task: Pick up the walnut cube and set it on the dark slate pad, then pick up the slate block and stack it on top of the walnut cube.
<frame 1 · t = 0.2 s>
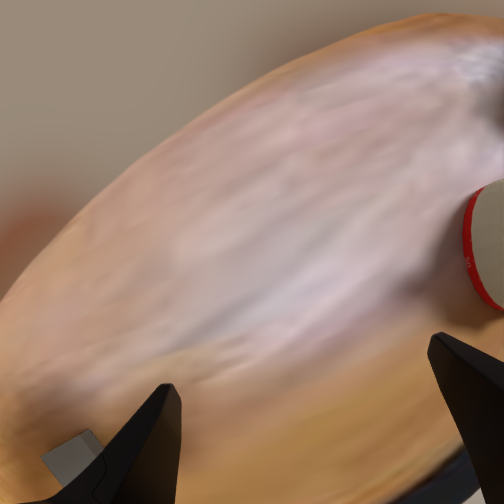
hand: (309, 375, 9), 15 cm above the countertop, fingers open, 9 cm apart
slate pad: (93, 475, 22), on the countertop
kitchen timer: (503, 247, 23), on the countertop
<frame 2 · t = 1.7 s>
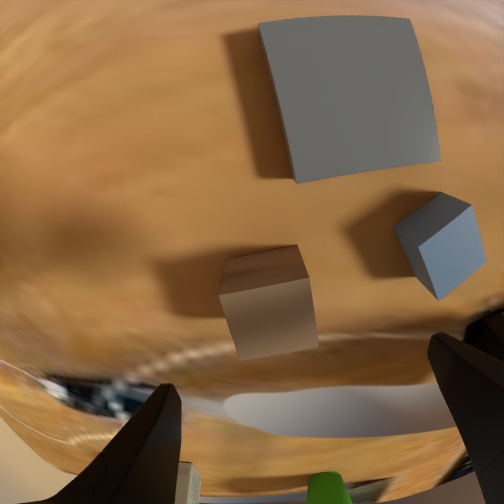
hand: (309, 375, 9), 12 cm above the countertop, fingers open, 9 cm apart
cup: (324, 476, 35), on the countertop
walnut cube: (268, 283, 21), on the countertop
slate pad: (351, 93, 16), on the countertop
skincare box: (184, 468, 34), on the countertop
slate block: (428, 235, 20), on the countertop
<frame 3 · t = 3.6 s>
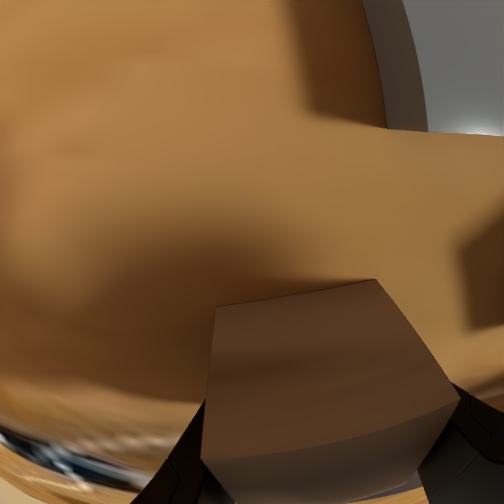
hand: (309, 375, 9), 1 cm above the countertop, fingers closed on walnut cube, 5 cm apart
walnut cube: (304, 353, 10), on the countertop, touching gripper
slate pad: (474, 4, 5), on the countertop
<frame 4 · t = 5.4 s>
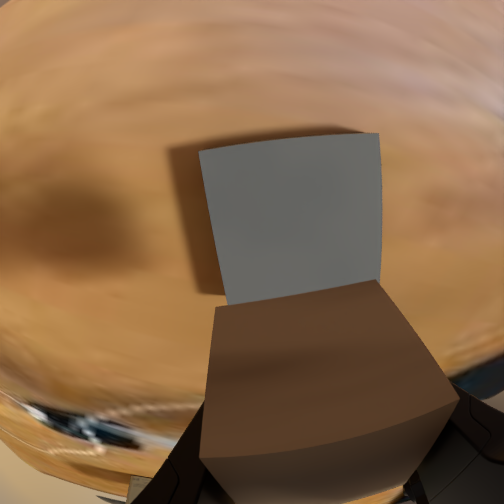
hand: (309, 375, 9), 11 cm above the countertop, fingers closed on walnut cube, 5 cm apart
walnut cube: (303, 353, 10), point 10 cm above the countertop, touching gripper
slate pad: (296, 217, 18), on the countertop
skincare box: (148, 482, 35), on the countertop
when the fingers open (4 cm above the countertop, at t = 7.2 s): walnut cube stays where it is, resting on slate pad.
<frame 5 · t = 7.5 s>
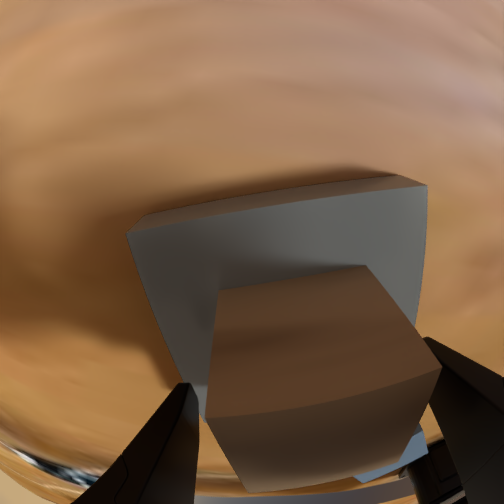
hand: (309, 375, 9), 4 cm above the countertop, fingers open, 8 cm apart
walnut cube: (300, 336, 11), point 2 cm above the countertop, touching slate pad
slate pad: (291, 306, 12), on the countertop
slate block: (373, 416, 17), on the countertop
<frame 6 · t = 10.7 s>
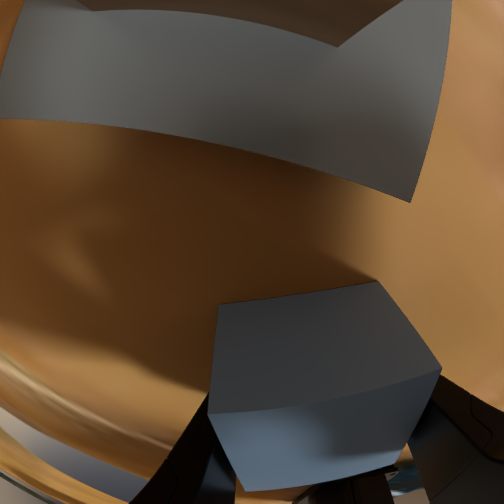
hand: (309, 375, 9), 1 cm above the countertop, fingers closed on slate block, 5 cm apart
slate block: (304, 353, 10), on the countertop, touching gripper
when the fingers open (9 cm above the countertop, at t = 13.5 s): slate block stays where it is, resting on walnut cube.
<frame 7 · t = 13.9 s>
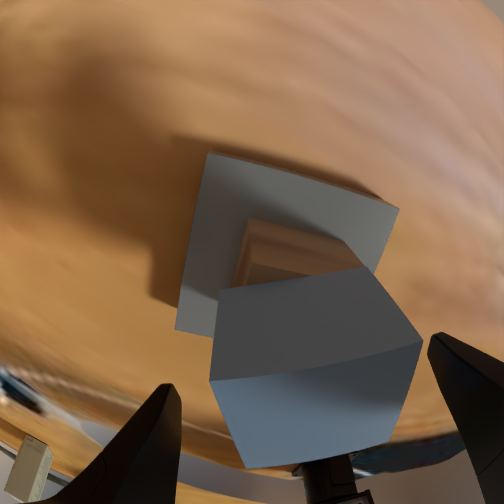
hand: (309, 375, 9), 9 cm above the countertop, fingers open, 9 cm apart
walnut cube: (283, 274, 15), point 2 cm above the countertop, touching slate block, slate pad
slate pad: (278, 257, 17), on the countertop
skincare box: (41, 445, 29), on the countertop
slate block: (300, 336, 11), point 7 cm above the countertop, touching walnut cube
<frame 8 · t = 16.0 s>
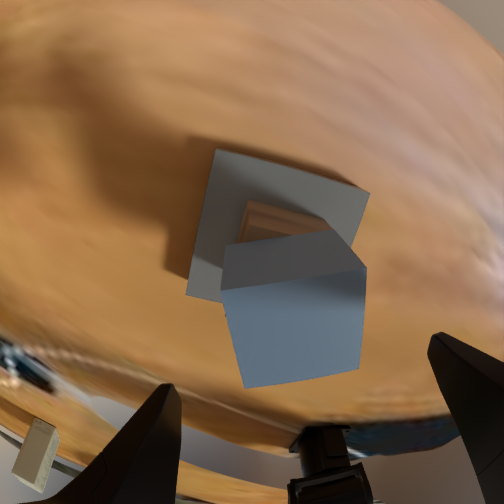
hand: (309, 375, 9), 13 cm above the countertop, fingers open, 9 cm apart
walnut cube: (275, 246, 19), point 2 cm above the countertop, touching slate block, slate pad
slate pad: (272, 235, 21), on the countertop
skincare box: (48, 428, 33), on the countertop
slate block: (286, 284, 14), point 7 cm above the countertop, touching walnut cube
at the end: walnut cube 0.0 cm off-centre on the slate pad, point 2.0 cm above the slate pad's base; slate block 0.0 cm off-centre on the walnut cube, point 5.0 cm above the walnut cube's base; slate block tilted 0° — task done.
